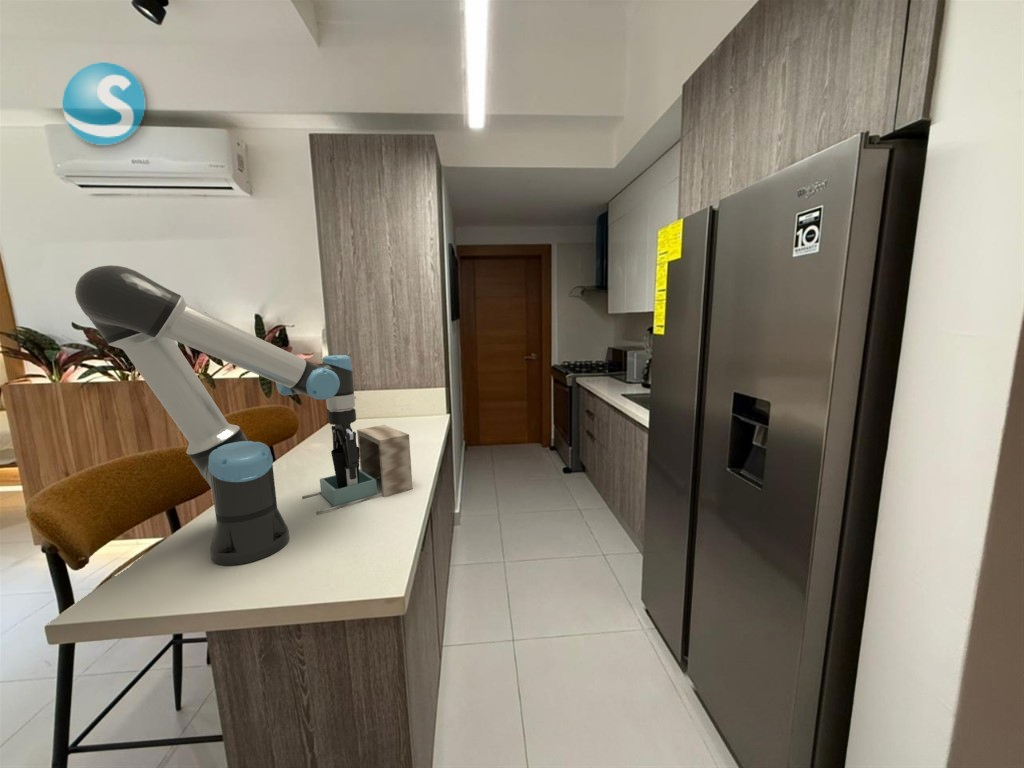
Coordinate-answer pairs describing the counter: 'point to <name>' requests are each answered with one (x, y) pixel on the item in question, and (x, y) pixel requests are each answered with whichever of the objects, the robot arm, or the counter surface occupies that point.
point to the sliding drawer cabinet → (382, 461)
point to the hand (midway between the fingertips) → (347, 485)
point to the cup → (341, 467)
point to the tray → (348, 489)
